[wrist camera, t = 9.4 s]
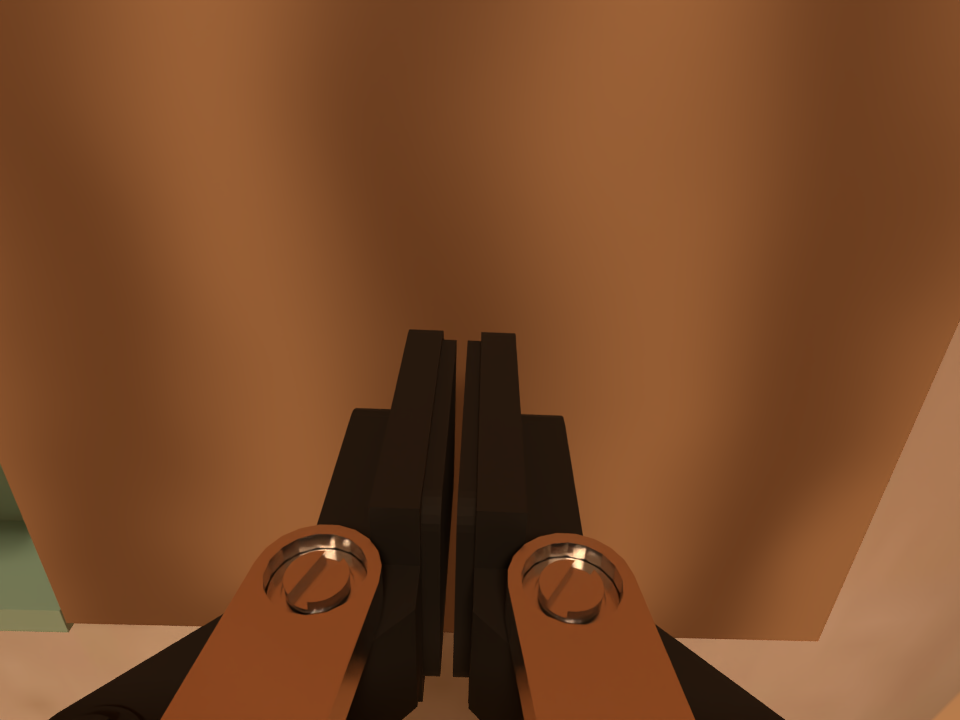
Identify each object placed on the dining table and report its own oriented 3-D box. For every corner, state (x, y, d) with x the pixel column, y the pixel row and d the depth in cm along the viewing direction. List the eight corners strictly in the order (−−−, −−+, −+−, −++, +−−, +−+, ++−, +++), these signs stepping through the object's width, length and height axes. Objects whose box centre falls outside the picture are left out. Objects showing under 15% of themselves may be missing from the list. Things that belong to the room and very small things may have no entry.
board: (938, -29, 12) (1115, -34, 9) (757, 523, 19) (817, 641, 16) (-26, -68, 12) (-229, -87, 9) (142, 506, 19) (66, 623, 16)
